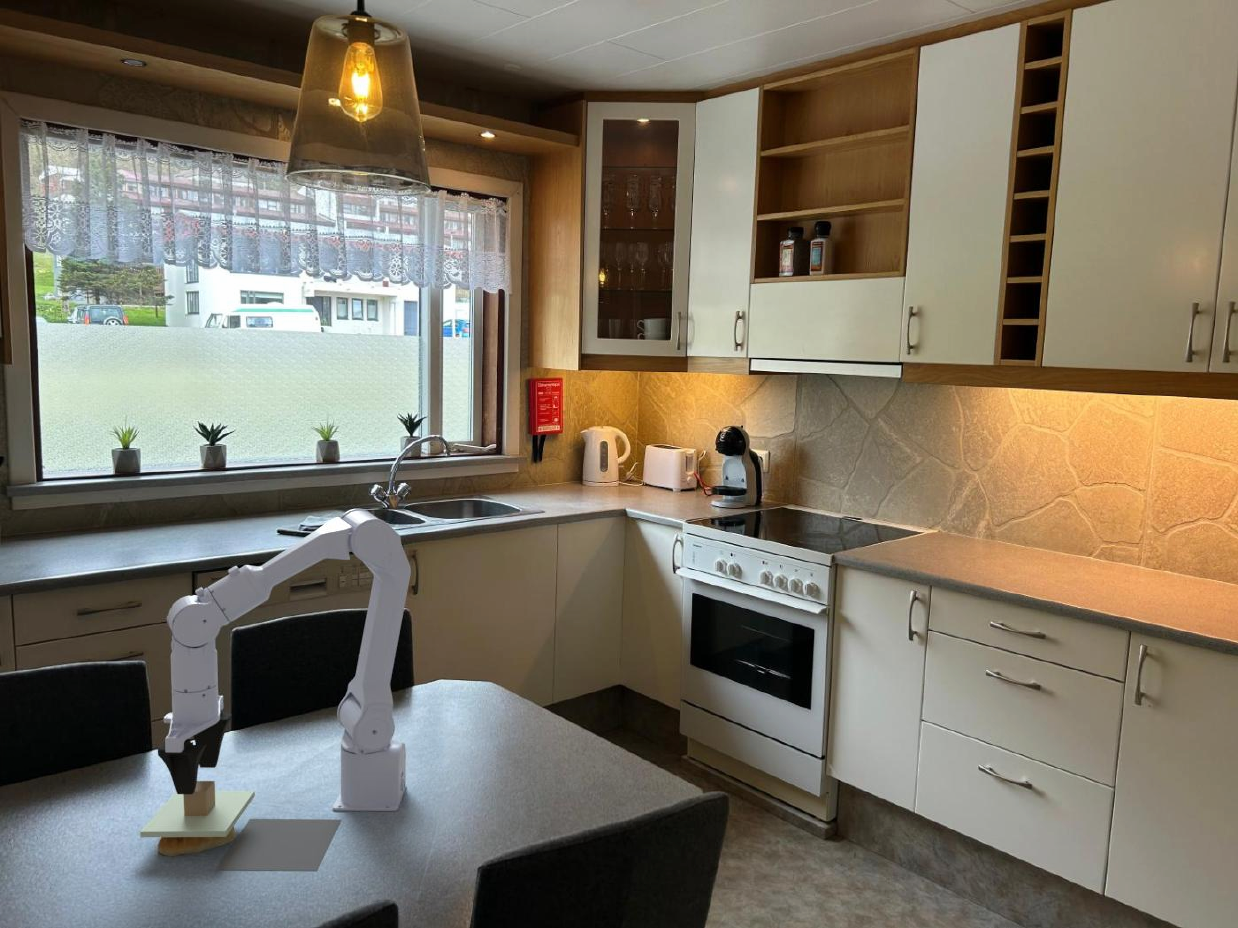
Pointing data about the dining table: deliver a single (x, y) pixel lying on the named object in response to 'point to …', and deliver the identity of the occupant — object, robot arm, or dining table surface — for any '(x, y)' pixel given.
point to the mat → (280, 845)
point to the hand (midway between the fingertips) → (197, 779)
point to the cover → (199, 813)
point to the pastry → (192, 844)
